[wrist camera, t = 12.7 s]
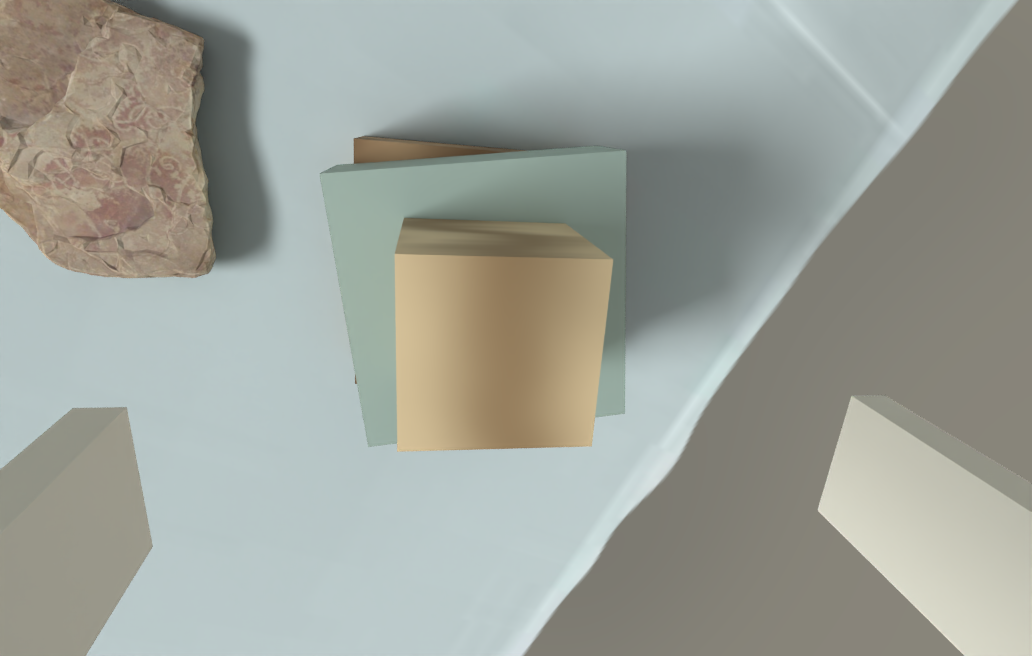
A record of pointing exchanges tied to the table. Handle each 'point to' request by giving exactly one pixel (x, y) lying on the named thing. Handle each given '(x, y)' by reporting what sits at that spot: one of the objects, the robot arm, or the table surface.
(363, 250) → the tower top
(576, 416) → the oak block
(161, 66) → the stone
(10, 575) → the robot arm
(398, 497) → the table surface
